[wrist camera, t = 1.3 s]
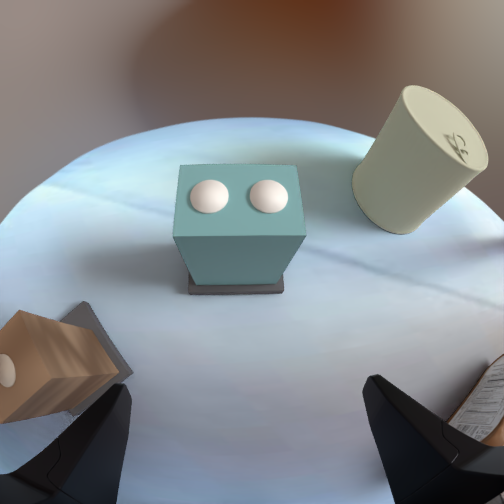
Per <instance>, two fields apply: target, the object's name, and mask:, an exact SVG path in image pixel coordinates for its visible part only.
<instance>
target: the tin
mask: <svg viewBox="0 0 504 504" xmlns="http://www.w3.org/2000/svg"><path fill="white" fill-rule="evenodd" d="M447 423H448V424H450V425H451V426H453V427H454V428H456V429H457V430H459V431H461V432H463V433H464V434H466V435H468V436H470V437H472V438H474V439H476V440H478V441H480V442H482V443H484V444H486V445H489V446H504V354H503V355H501V356H500V357H499V358H497V359H496V360H495V361H494V362H493V363H492V364H491V365H490V366H489V367H488V368H487V369H486V371H485V372H484V373H483V375H482V376H481V378H480V379H479V380H478V382H477V383H476V385H475V386H474V388H473V389H472V390H471V392H470V393H469V394H468V396H467V397H466V398H465V400H464V401H463V402H462V403H461V405H460V406H459V407H458V408H457V410H456V411H455V412H454V413H453V415H452V416H451V417H450V418H449V419H448V421H447Z"/></svg>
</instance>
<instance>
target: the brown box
mask: <svg viewBox="0 0 504 504" xmlns="http://www.w3.org/2000/svg"><path fill="white" fill-rule="evenodd" d="M118 373H119V371H118V369H117V368H116V367H115V365H114V364H113V362H112V361H111V359H110V358H109V356H108V355H107V353H106V352H105V350H104V349H103V347H102V345H101V344H100V342H99V341H98V339H97V337H96V336H95V334H94V332H93V331H92V330H90V329H86V328H82V327H77V326H74V325H70V324H66V323H62V322H58V321H55V320H51V319H48V318H44V317H41V316H38V315H34V314H31V313H28V312H25V311H22V310H19V311H18V312H17V313H16V314H15V315H14V316H13V317H12V318H11V319H10V320H9V321H8V322H7V324H6V325H5V326H4V327H3V328H2V329H1V330H0V423H1V424H4V423H10V422H15V421H21V420H26V419H31V418H35V417H40V416H44V415H49V414H53V413H57V412H61V411H65V410H69V409H73V408H74V407H75V406H77V405H78V404H79V403H81V402H82V401H83V400H85V399H86V398H87V397H88V396H90V395H91V394H92V393H94V392H95V391H96V390H98V389H99V388H100V387H101V386H103V385H104V384H105V383H107V382H108V381H109V380H110V379H112V378H113V377H114V376H116V375H117V374H118Z"/></svg>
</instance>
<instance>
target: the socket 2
mask: <svg viewBox="0 0 504 504" xmlns="http://www.w3.org/2000/svg"><path fill="white" fill-rule="evenodd" d="M283 291H284V281H283V274H282V276H281V277H280V279H279V280H278V282H277V283H276V284H255V285H196V284H195V282H194V280H193V278H192V276H191V274H190V272H189V285H188V292H189V294H190V295H231V294H274V293H282V292H283Z"/></svg>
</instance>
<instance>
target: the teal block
mask: <svg viewBox="0 0 504 504" xmlns="http://www.w3.org/2000/svg"><path fill="white" fill-rule="evenodd" d="M305 237H306V229H305V221H304V213H303V206H302V199H301V192H300V185H299V179H298V172H297V166H296V165H271V164H198V165H180V170H179V178H178V186H177V195H176V204H175V215H174V226H173V238H174V241H175V243H176V245H177V247H178V249H179V251H180V253H181V255H182V257H183V260H184V262H185V264H186V266H187V268H188V270H189V272H190V274H191V276H192V278H193V280H194V282H195V284H196V285H255V284H276V283H277V282H278V280H279V279H280V277H281V276H282V274H283V272H284V271H285V269H286V268H287V266H288V264H289V263H290V261H291V260H292V258H293V256H294V255H295V253H296V251H297V250H298V248H299V247H300V245H301V243H302V242H303V240H304V238H305Z"/></svg>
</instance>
